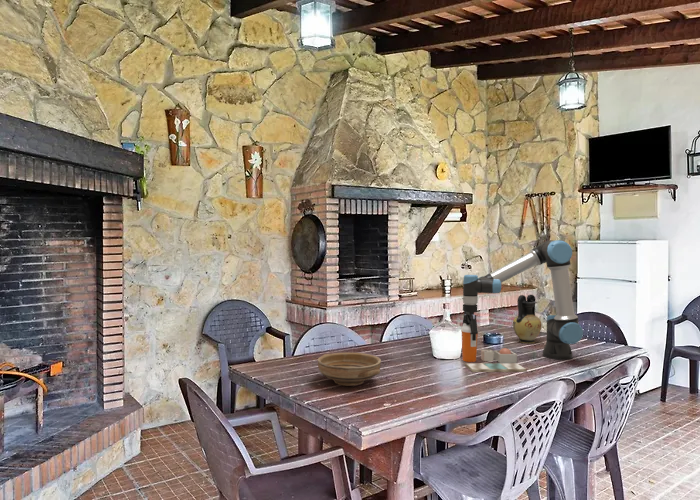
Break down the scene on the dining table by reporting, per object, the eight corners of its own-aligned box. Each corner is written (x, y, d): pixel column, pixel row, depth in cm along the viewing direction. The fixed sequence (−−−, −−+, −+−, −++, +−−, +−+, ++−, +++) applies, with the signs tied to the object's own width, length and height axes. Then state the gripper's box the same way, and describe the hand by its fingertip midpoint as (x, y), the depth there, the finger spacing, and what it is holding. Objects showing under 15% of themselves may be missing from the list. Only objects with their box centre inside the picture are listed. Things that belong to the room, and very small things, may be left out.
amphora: (521, 338, 327) (522, 292, 327) (546, 342, 315) (547, 295, 314) (507, 341, 315) (508, 294, 315) (532, 346, 303) (533, 297, 302)
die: (490, 358, 270) (490, 349, 269) (493, 361, 265) (493, 351, 264) (481, 358, 269) (481, 349, 269) (484, 361, 264) (484, 351, 264)
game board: (517, 365, 256) (517, 363, 256) (526, 371, 244) (526, 369, 244) (465, 365, 254) (465, 363, 254) (472, 372, 242) (472, 369, 242)
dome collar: (510, 358, 270) (510, 350, 270) (516, 362, 261) (517, 354, 261) (493, 358, 270) (493, 350, 270) (499, 363, 261) (499, 354, 260)
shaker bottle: (478, 363, 260) (478, 324, 260) (460, 362, 262) (461, 324, 261) (477, 359, 269) (478, 322, 268) (460, 358, 271) (461, 321, 270)
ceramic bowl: (401, 385, 218) (401, 363, 218) (350, 398, 200) (350, 373, 200) (348, 368, 247) (348, 348, 247) (299, 377, 229) (300, 356, 229)
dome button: (508, 358, 269) (508, 346, 269) (513, 361, 262) (513, 349, 262) (497, 358, 268) (497, 346, 268) (501, 361, 262) (501, 349, 262)
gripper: (456, 301, 277) (456, 339, 277) (470, 307, 252) (469, 349, 253) (470, 301, 277) (469, 339, 278) (484, 307, 253) (484, 349, 253)
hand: (469, 343), depth 265 cm, fingers open, 13 cm apart
